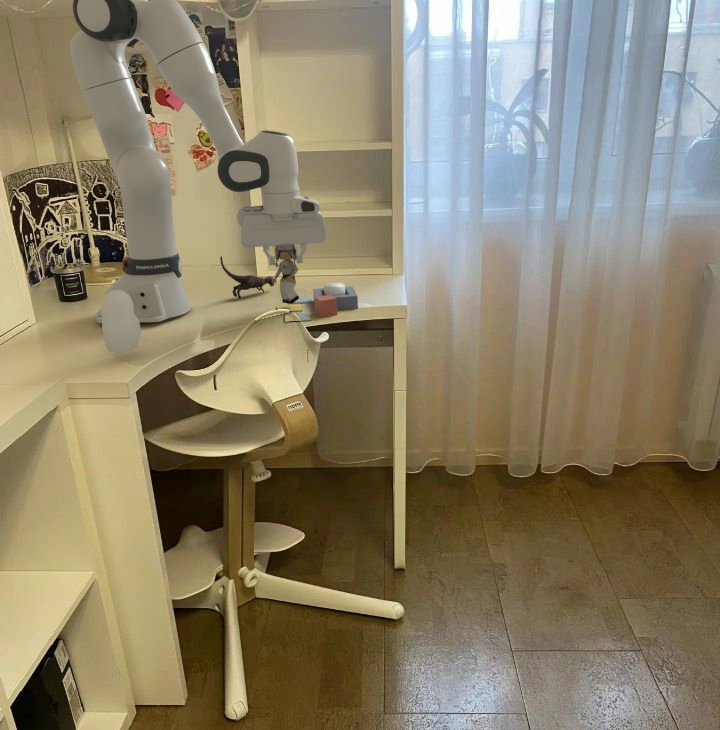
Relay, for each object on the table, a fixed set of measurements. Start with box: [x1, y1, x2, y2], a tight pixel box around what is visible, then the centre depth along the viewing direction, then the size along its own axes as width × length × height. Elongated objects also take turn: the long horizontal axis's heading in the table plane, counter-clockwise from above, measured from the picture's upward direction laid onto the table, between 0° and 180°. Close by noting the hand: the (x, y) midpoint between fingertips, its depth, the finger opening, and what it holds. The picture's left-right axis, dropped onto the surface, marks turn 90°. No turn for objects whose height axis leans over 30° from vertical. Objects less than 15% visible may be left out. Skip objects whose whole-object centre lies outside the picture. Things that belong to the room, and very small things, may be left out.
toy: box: [272, 243, 299, 305], centre depth 159 cm, size 7×6×15 cm
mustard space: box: [276, 303, 303, 313], centre depth 162 cm, size 6×6×1 cm
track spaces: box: [288, 295, 314, 322], centre depth 164 cm, size 15×26×1 cm, turn 8°
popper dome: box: [323, 282, 346, 296], centre depth 164 cm, size 5×5×4 cm
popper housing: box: [313, 285, 359, 310], centre depth 164 cm, size 10×10×3 cm
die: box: [313, 295, 338, 318], centre depth 156 cm, size 4×4×4 cm
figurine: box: [101, 290, 141, 354], centre depth 136 cm, size 7×8×12 cm
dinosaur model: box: [219, 255, 275, 300], centre depth 172 cm, size 4×12×15 cm, turn 132°
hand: (286, 263), depth 158 cm, fingers closed on toy, 5 cm apart
